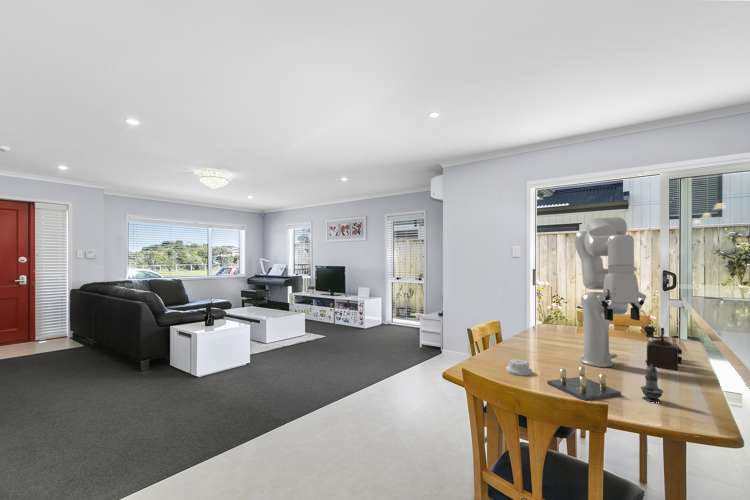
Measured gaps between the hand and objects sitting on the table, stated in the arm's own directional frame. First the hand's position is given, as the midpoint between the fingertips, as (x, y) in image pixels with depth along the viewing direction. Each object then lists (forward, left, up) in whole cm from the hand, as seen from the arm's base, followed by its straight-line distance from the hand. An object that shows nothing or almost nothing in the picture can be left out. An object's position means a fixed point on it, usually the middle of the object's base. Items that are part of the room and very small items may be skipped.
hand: (621, 319), depth 122 cm
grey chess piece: (-5, +6, -26) cm, 27 cm away
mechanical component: (+18, -31, -26) cm, 44 cm away
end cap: (-59, -25, -26) cm, 69 cm away
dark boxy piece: (-45, -19, -26) cm, 55 cm away
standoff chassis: (+9, -8, -26) cm, 28 cm away
